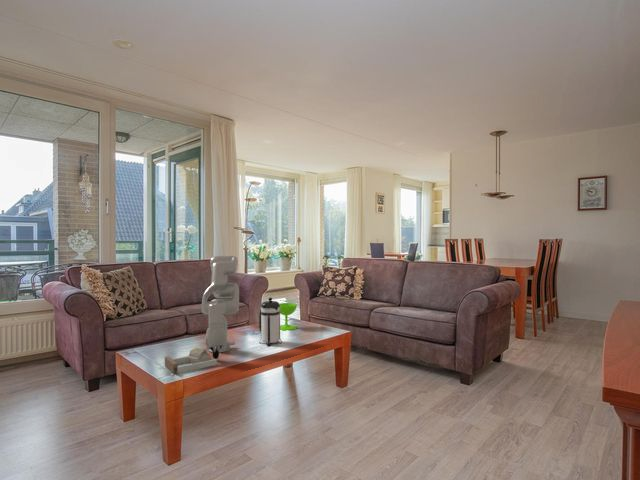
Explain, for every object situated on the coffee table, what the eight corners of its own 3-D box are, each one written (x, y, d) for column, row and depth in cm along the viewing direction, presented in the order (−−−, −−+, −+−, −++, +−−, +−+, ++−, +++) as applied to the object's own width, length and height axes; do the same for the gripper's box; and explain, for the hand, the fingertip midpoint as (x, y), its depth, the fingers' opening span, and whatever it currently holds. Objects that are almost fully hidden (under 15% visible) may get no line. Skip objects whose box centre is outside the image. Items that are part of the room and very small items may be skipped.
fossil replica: (208, 366, 203) (211, 362, 213) (210, 351, 204) (212, 347, 214) (185, 366, 201) (188, 362, 211) (186, 350, 202) (190, 346, 212)
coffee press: (284, 340, 255) (284, 295, 255) (279, 346, 240) (278, 299, 240) (259, 339, 258) (259, 295, 258) (252, 345, 242) (252, 299, 242)
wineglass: (280, 331, 279) (280, 307, 279) (272, 327, 293) (272, 304, 293) (300, 329, 287) (300, 305, 286) (291, 325, 301) (291, 302, 301)
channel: (206, 357, 218) (206, 349, 218) (217, 364, 205) (216, 355, 205) (164, 366, 204) (164, 356, 204) (173, 374, 192) (173, 364, 192)
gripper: (225, 322, 221) (225, 354, 221) (200, 326, 211) (200, 359, 211) (230, 324, 215) (231, 357, 215) (205, 328, 206) (205, 362, 205)
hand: (215, 358), depth 213 cm, fingers closed
